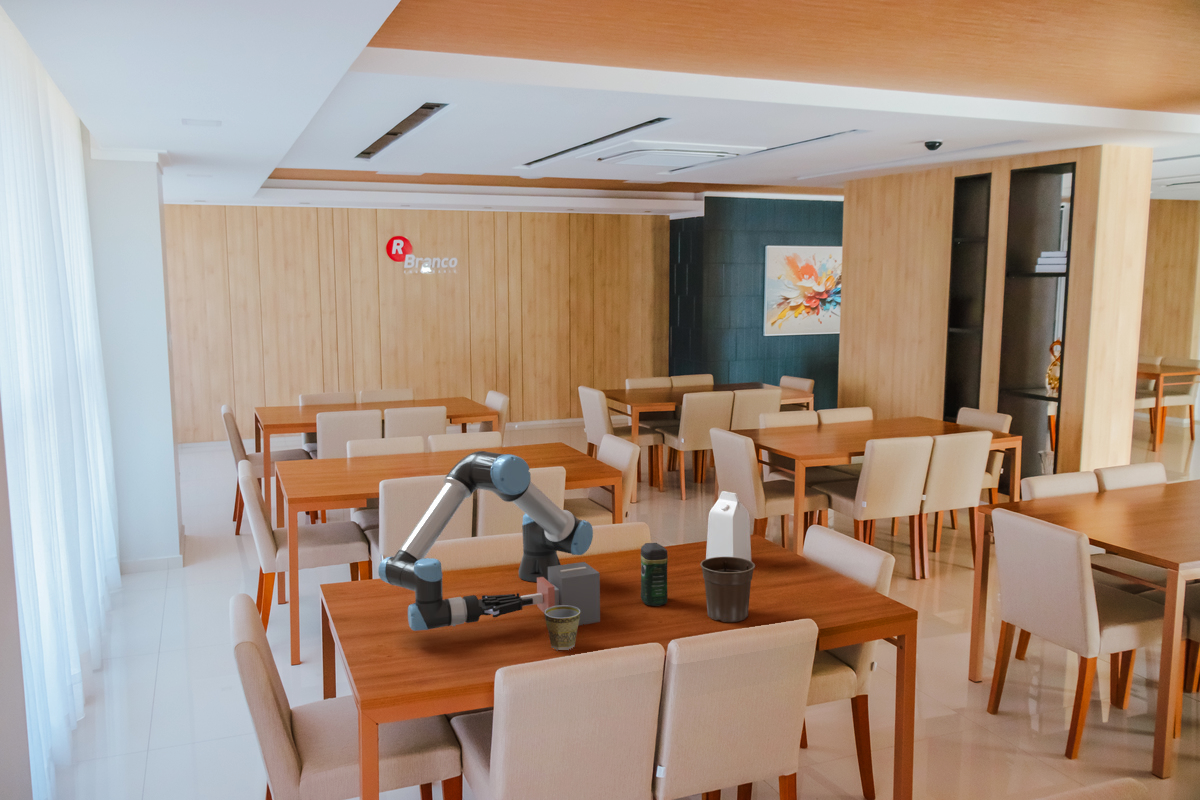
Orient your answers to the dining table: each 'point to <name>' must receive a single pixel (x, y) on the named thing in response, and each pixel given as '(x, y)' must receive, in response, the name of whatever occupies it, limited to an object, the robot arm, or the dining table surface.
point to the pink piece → (547, 594)
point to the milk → (728, 528)
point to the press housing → (578, 589)
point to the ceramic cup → (562, 626)
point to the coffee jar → (654, 574)
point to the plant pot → (727, 587)
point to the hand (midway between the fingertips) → (541, 598)
